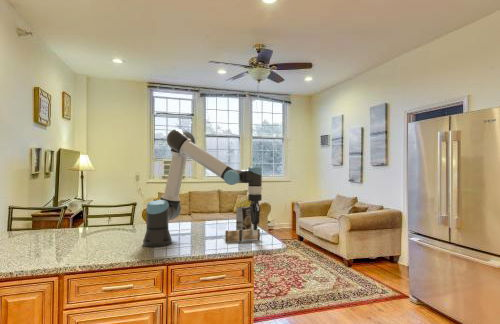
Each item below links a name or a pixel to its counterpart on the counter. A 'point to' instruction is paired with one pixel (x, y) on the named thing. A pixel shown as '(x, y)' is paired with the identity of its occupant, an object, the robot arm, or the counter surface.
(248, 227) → the coffee box
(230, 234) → the fence fixed section
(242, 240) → the card
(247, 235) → the fence gate
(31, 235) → the counter surface
